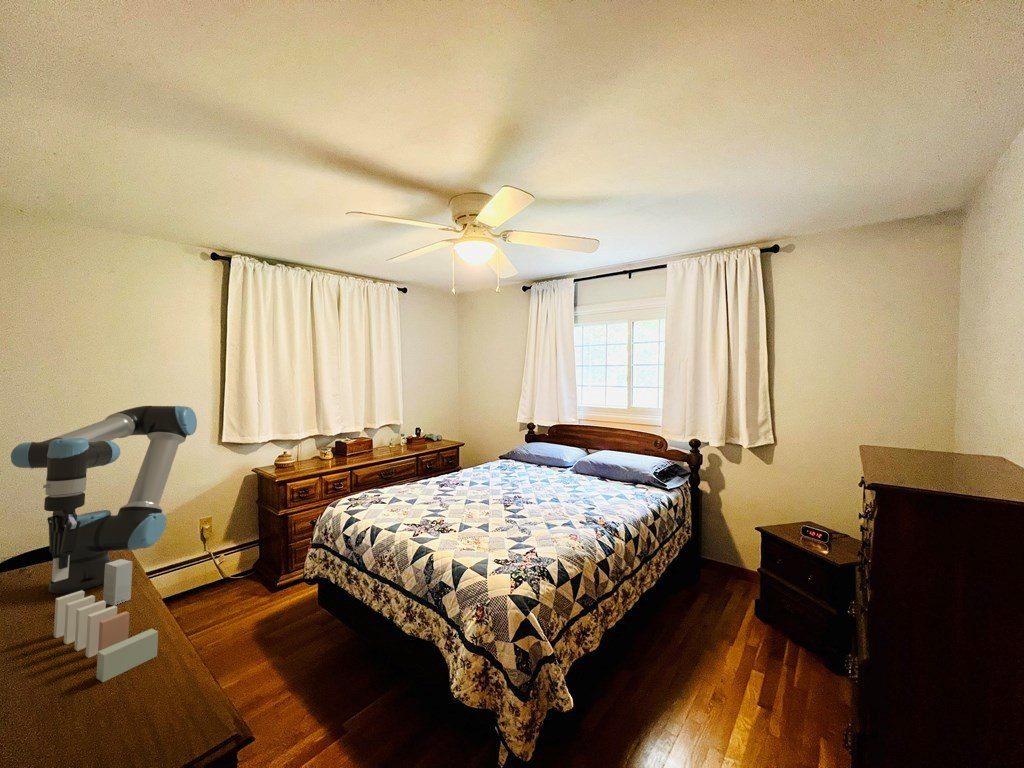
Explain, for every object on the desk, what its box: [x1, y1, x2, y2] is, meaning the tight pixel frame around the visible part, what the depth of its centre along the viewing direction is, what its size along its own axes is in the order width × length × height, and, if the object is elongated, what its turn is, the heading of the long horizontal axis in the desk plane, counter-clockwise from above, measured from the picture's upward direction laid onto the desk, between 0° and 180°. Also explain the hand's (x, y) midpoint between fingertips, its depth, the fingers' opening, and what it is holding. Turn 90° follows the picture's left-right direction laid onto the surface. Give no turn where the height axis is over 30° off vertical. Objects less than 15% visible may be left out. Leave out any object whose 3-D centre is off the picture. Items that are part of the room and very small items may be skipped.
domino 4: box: [85, 605, 118, 659], centre depth 100 cm, size 2×5×10 cm, turn 156°
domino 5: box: [98, 611, 131, 651], centre depth 97 cm, size 2×5×10 cm, turn 156°
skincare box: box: [102, 558, 133, 606], centre depth 123 cm, size 6×4×12 cm
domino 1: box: [53, 590, 86, 639], centre depth 107 cm, size 2×5×10 cm, turn 156°
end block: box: [95, 628, 159, 683], centre depth 94 cm, size 3×10×6 cm, turn 156°
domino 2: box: [63, 594, 96, 645], centre depth 105 cm, size 2×5×10 cm, turn 156°
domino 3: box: [73, 599, 107, 652], centre depth 102 cm, size 2×5×10 cm, turn 156°
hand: (59, 579), depth 109 cm, fingers closed
